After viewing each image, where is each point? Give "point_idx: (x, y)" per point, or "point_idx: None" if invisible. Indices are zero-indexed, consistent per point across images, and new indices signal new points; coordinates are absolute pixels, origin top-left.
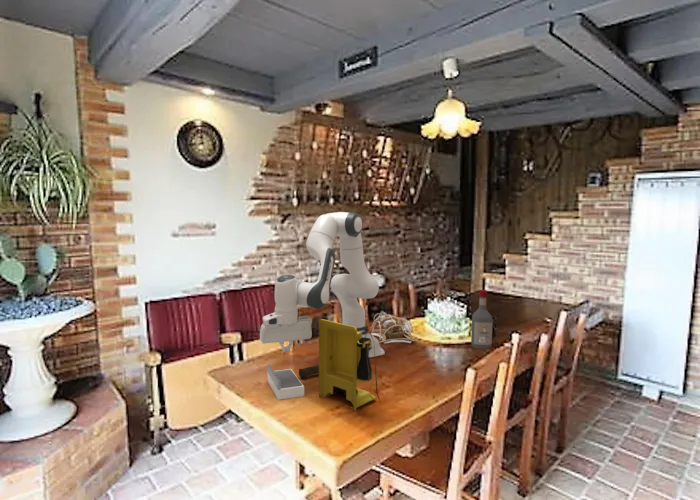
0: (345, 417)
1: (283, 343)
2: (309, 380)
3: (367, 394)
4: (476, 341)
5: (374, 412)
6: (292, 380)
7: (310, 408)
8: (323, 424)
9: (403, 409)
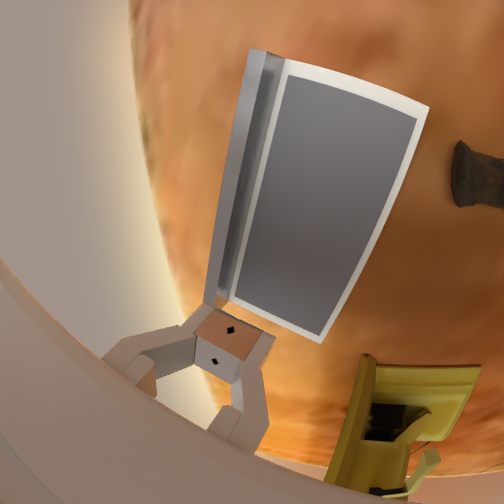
0: (321, 431)
1: (151, 395)
2: (467, 213)
3: (429, 440)
4: None
5: None
6: (317, 272)
7: (290, 372)
8: None
9: None
